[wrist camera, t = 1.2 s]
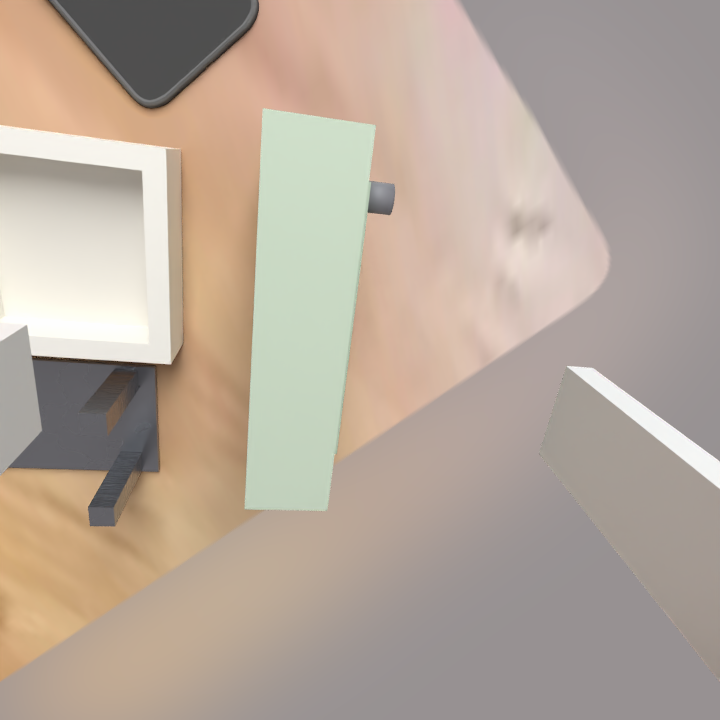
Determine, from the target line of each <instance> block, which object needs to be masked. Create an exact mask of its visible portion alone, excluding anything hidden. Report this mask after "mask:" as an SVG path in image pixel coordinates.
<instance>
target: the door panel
mask: <svg viewBox="0 0 720 720" xmlns="http://www.w3.org/2000/svg"><path fill="white" fill-rule="evenodd" d="M375 128H376V125H371V124H364V123H357V122H351V121H344V120H338V119H331V118H324V117H318V116H311V115H304V114H298V113H291V112H284V111H278V110H271V109H264V108H263V116H262V138H261V160H260V182H259V204H258V226H257V248H256V270H255V292H254V314H253V336H252V358H251V381H250V403H249V425H248V447H247V469H246V491H245V509H253V510H308V511H310V510H311V511H327V510H328V502H329V494H330V486H331V478H332V470H333V462H334V454H337V447H338V439H339V431H340V424H341V416H342V408H343V400H344V392H345V384H346V377H347V369H348V361H349V353H350V345H351V337H352V330H353V322H354V314H355V306H356V298H357V290H358V283H359V275H360V267H361V259H362V251H363V243H364V236H365V228H366V220H367V212H368V213H376V214H385V215H390V214H391V212H392V209H393V204H394V197H395V186H394V184H390V183H382V182H374V181H369V176H370V168H371V160H372V152H373V144H374V136H375Z"/></svg>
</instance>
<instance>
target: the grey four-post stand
mask: <svg viewBox="0 0 720 720" xmlns="http://www.w3.org/2000/svg"><path fill="white" fill-rule="evenodd" d="M32 362H33V369H34V376H35V383H36V391H37V398H38V405H39V412H40V419H41V426H42V431H41V432H40V434H39V435H38V436H37V437H36V438H35V439H34V440H33V441H32V442H31V443H30V444H29V445H28V446H27V448H26V449H25V450H24V451H23V452H22V453H21V454H20V455H19V456H18V457H17V458H16V459H15V460H14V461H13V463H12V464H11V465H10V466H9V467H13V468H47V469H82V470H109V472H108V474H107V475H106V477H105V479H104V481H103V482H102V484H101V486H100V488H99V489H98V491H97V493H96V494H95V496H94V498H93V500H92V501H91V503H90V505H89V507H88V511H89V521H90V526H116V524H117V521H118V519H119V517H120V515H121V513H122V511H123V509H124V507H125V505H126V503H127V501H128V498H129V496H130V494H131V492H132V490H133V488H134V486H135V484H136V482H137V480H138V478H139V475H140V473H141V471H150V472H159V469H160V464H159V436H158V408H157V380H156V366H154V365H138V364H123V363H107V362H91V361H75V360H59V359H43V358H32Z"/></svg>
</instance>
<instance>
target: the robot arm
mask: <svg viewBox="0 0 720 720" xmlns="http://www.w3.org/2000/svg"><path fill="white" fill-rule="evenodd" d="M41 431H42V426H41V419H40V412H39V405H38V398H37V391H36V383H35V376H34V369H33V362H32V355H31V348H30V341H29V334H28V326H27V325H26V324H13V323H0V475H1V474H2V473H3V472H4V471H5V470H6V469H7V468H8V467H9V466H10V465H11V464H12V463H13V461H14V460H15V459H16V458H17V457H18V456H19V455H20V454H21V453H22V452H23V451H24V450H25V449H26V448H27V446H28V445H29V444H30V443H31V442H32V441H33V440H34V439H35V438H36V437H37V436H38V435H39V434H40V432H41ZM539 455H540V456H541V457H542V458H543V460H544V461H545V462H546V463H547V465H548V466H549V467H550V468H551V470H552V471H553V472H554V474H555V475H556V476H557V477H558V479H559V480H560V481H561V482H562V484H563V485H564V486H565V487H566V489H567V490H568V491H569V492H570V494H571V495H572V496H573V498H574V499H575V500H576V501H577V502H578V504H579V505H580V506H581V508H582V509H583V510H584V511H585V513H586V514H587V515H588V516H589V518H590V519H591V520H592V521H593V523H594V524H595V525H596V527H597V528H598V529H599V530H600V532H601V533H602V534H603V535H604V537H605V538H606V539H607V540H608V542H609V543H610V544H611V545H612V547H613V548H614V549H615V550H616V552H617V553H618V554H619V556H621V558H622V559H623V561H624V562H625V563H626V564H627V566H628V567H629V568H630V569H631V571H632V572H633V573H634V574H635V576H636V577H637V578H638V579H639V581H640V582H641V583H642V584H643V586H644V587H645V588H646V590H647V591H648V592H649V593H650V595H651V596H652V597H653V598H654V600H655V601H656V602H657V603H658V605H659V606H660V607H661V608H662V610H663V611H664V612H665V614H666V615H667V616H668V617H669V619H670V620H671V621H672V622H673V624H674V625H675V626H676V627H677V629H678V630H679V631H680V632H681V634H682V635H683V636H684V637H685V639H686V640H687V641H688V643H690V645H691V646H692V648H693V649H694V650H695V651H696V653H697V654H698V655H699V656H700V658H701V659H702V660H703V661H704V663H705V664H706V665H707V666H708V668H709V669H710V670H711V672H712V673H713V674H714V675H715V677H716V678H717V679H718V680H719V682H720V461H718V460H717V459H716V458H714V457H713V456H712V455H710V454H709V453H707V452H706V451H704V450H703V449H702V448H700V447H699V446H698V445H697V444H695V443H694V442H692V441H691V440H690V439H688V438H687V437H685V436H684V435H683V434H682V433H680V432H679V431H678V430H676V429H675V428H673V427H672V426H671V425H669V424H668V423H667V422H665V421H664V420H663V419H661V418H660V417H658V416H657V415H656V414H654V413H653V412H652V411H650V410H649V409H648V408H646V407H645V406H643V405H642V404H641V403H639V402H638V401H637V400H635V399H634V398H633V397H631V396H630V395H629V394H627V393H626V392H624V391H623V390H622V389H620V388H619V387H618V386H616V385H615V384H613V383H612V382H611V381H609V380H608V379H607V378H605V377H604V376H603V375H601V374H600V373H599V372H597V371H596V370H595V369H593V368H585V367H572V366H571V367H570V366H566V369H565V372H564V375H563V378H562V382H561V385H560V388H559V391H558V394H557V398H556V401H555V404H554V407H553V410H552V413H551V417H550V420H549V423H548V427H547V430H546V433H545V436H544V439H543V442H542V445H541V449H540V452H539Z"/></svg>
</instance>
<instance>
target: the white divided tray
mask: <svg viewBox="0 0 720 720" xmlns="http://www.w3.org/2000/svg"><path fill="white" fill-rule="evenodd" d="M0 323H13V324H26V325H27V326H28V334H29V341H30V348H31V355H33V356H48V357H64V358H80V359H95V360H111V361H127V362H142V363H158V364H171V363H172V362H173V360H174V358H175V356H176V355H177V353H178V351H179V350H180V348H181V346H182V344H183V270H182V187H181V149H176V148H169V147H161V146H154V145H146V144H139V143H131V142H124V141H116V140H109V139H101V138H94V137H86V136H79V135H71V134H64V133H56V132H49V131H41V130H34V129H26V128H19V127H11V126H4V125H0Z"/></svg>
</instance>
